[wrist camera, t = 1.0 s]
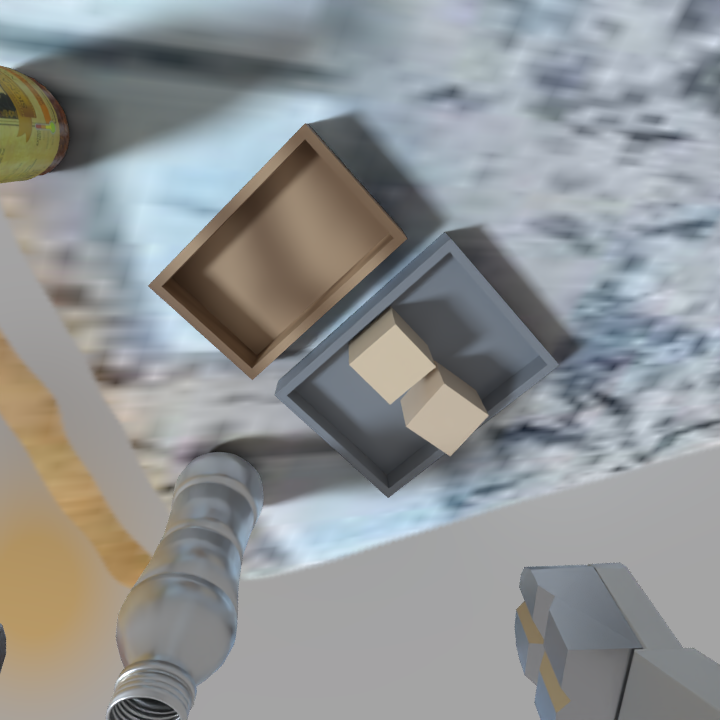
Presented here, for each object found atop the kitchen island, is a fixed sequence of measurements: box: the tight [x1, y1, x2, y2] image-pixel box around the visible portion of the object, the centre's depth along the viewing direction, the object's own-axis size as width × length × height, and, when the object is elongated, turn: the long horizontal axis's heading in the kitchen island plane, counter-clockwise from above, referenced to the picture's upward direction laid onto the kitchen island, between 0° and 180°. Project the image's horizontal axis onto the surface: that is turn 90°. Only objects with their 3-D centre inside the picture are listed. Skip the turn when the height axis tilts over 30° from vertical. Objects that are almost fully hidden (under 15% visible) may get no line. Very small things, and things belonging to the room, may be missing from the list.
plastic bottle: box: [106, 452, 263, 720], centre depth 36 cm, size 6×7×20 cm
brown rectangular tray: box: [148, 123, 407, 380], centre depth 37 cm, size 14×9×3 cm, turn 133°
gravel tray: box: [275, 232, 559, 498], centre depth 41 cm, size 16×12×2 cm
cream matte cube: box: [348, 306, 436, 404], centre depth 38 cm, size 4×4×4 cm
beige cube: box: [400, 361, 489, 456], centre depth 40 cm, size 4×4×4 cm
